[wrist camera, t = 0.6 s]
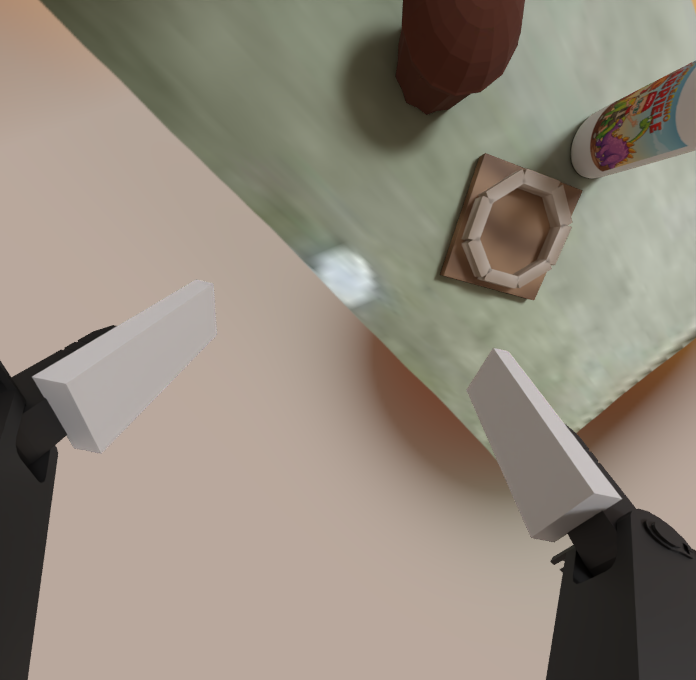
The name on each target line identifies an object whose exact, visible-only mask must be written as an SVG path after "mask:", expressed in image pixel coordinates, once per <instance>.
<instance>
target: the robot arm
mask: <svg viewBox="0 0 696 680" xmlns="http://www.w3.org/2000/svg"><path fill="white" fill-rule="evenodd" d="M216 335H217V329H216V313H215V299H214V285H213V283H209V282H205V281H201V280H194V281H193V282H191V283H189V284H188V285H186V286H184V287H183V288H181V289H179V290H177V291H176V292H174V293H172V294H171V295H169V296H167V297H166V298H164V299H162V300H161V301H159V302H157V303H156V304H154V305H152V306H151V307H149V308H147V309H146V310H144V311H142V312H140V313H139V314H137V315H135V316H134V317H132V318H130V319H129V320H127V321H125V322H123V323H122V324H120V325H119V326H114V325H112V326H109V327H106V328H103V329H100V330H96V331H93V332H92V333H90V334H88V335H86V336H85V337H83V338H81V339H79V340H78V342H74V343H72V344H70V345H69V346H67V347H65V349H64V350H60V351H58V352H56V353H54V354H53V355H51V356H49V357H47V358H46V359H44V360H42V361H40V362H38V363H36V364H35V365H33V366H31V367H29V368H28V369H26V370H24V371H22V372H20V373H19V374H17V375H15V376H13V377H11V376H10V375H9V373H8V372H7V370H6V369H5V367H4V366H3V364H2V363H1V361H0V680H28V672H29V665H30V657H31V650H32V643H33V635H34V627H35V620H36V613H37V606H38V598H39V591H40V583H41V576H42V569H43V561H44V554H45V546H46V539H47V532H48V524H49V517H50V509H51V501H52V495H53V488H54V480H55V473H56V465H57V458H58V452H57V447H56V446H55V445H56V444H57V443H58V442H59V441H60V440H62V439H63V438H64V437H65V436H66V435H67V437H68V439H69V441H70V442H71V444H72V446H73V447H74V448H75V449H81V450H86V451H91V452H96V453H102V452H103V451H104V450H105V449H106V448H107V447H108V446H109V445H110V444H111V443H112V442H113V441H114V440H115V439H116V438H117V437H118V436H119V435H120V434H121V433H122V432H123V431H124V430H125V429H126V428H127V426H129V425H130V424H131V422H133V420H134V419H135V418H136V417H137V416H138V415H139V414H140V413H141V412H142V411H143V410H144V409H145V408H146V407H147V406H148V405H149V404H150V403H151V402H152V401H153V400H154V399H155V398H156V397H157V396H158V395H159V394H160V393H161V392H162V391H163V389H164V388H166V387H167V386H168V385H169V384H170V382H171V381H172V380H173V379H174V378H175V377H176V376H177V375H178V374H179V373H180V372H181V371H182V370H183V369H184V368H185V367H186V366H187V365H188V364H189V363H190V362H191V361H192V360H193V359H194V358H195V357H196V356H197V355H198V354H199V353H200V352H201V351H202V350H203V349H204V348H205V346H206V345H207V344H208V343H209V342H210V341H211V340H212V339H213V338H214V337H215V336H216ZM467 392H468V394H469V397H470V399H471V401H472V404H473V406H474V408H475V410H476V413H477V415H478V417H479V420H480V422H481V424H482V427H483V429H484V431H485V433H486V436H487V438H488V440H489V443H490V445H491V447H492V450H493V452H494V454H495V456H496V459H497V461H498V463H499V466H500V468H501V470H502V472H503V475H504V477H505V479H506V482H507V484H508V486H509V488H510V491H511V493H512V495H513V497H514V500H515V502H516V504H517V507H518V509H519V511H520V514H521V516H522V518H523V521H524V523H525V525H526V528H527V530H528V532H529V534H530V537H531V538H534V539H540V540H545V541H550V542H555V541H557V540H559V539H560V538H561V537H563V536H565V535H566V534H568V535H569V537H570V539H571V541H572V543H573V544H574V545H572V546H571V547H569V548H568V549H566V550H564V551H562V552H561V553H559V554H557V555H556V556H554V557H553V558H552V560H551V563H552V564H554V565H555V564H557V563H559V562H560V561H565V563H564V567H563V568H561V569H560V570H561V571H562V572H563V576H562V583H561V588H560V595H559V601H558V608H557V613H556V621H555V626H554V633H553V639H552V645H551V652H550V658H549V664H548V670H547V676H546V680H696V551H695V550H693V549H691V547H690V546H689V545H688V543H687V542H686V541H685V540H684V538H682V537H681V536H680V535H679V534H678V533H677V532H676V531H675V530H674V529H673V528H672V527H671V526H669V525H668V524H667V523H666V522H664V521H663V520H661V519H660V518H659V517H657V516H655V515H653V514H651V513H650V512H648V511H644V510H641V509H636V508H635V507H634V505H633V504H632V503H631V502H630V500H629V499H628V498H627V497H626V495H624V493H623V491H622V490H621V489H620V488H619V486H618V485H617V484H616V483H615V481H614V480H613V479H612V477H611V476H610V475H609V474H608V472H607V471H606V470H605V469H604V467H603V466H602V465H601V464H600V463H598V460H597V458H596V457H595V456H594V455H593V453H592V452H589V448H588V447H587V446H586V445H585V443H584V442H583V441H582V439H581V438H580V437H579V436H578V435H577V434H576V433H575V432H574V431H573V430H572V429H570V428H569V427H568V426H567V425H566V424H565V423H563V421H562V420H561V419H560V417H559V416H558V415H557V414H556V412H555V411H554V410H553V408H552V407H551V406H550V404H549V403H548V402H547V401H546V399H545V398H544V397H543V395H542V394H541V393H540V391H539V390H538V389H537V388H536V386H535V385H534V384H533V382H532V381H531V380H530V378H529V377H528V376H527V375H526V373H525V372H524V371H523V369H522V368H521V367H520V365H519V364H518V363H517V362H516V360H515V359H514V358H513V356H512V355H511V354H510V352H509V351H505V350H500V349H496V348H493V349H492V351H491V352H490V354H489V355H488V357H487V358H486V360H485V362H484V363H483V365H482V366H481V368H480V369H479V371H478V373H477V374H476V376H475V377H474V379H473V381H472V382H471V384H470V385H469V387H468V388H467Z"/></svg>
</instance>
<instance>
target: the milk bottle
mask: <svg viewBox="0 0 696 680" xmlns="http://www.w3.org/2000/svg"><path fill="white" fill-rule="evenodd" d="M694 150H696V61H694V62H692V63H690V64H688V65H686V66H684V67H682V68H680V69H678V70H676V71H674V72H672V73H670V74H668V75H667V76H665V77H663V78H661V79H659V80H657V81H655V82H653V83H651V84H649V85H647V86H645V87H643V88H641V89H639V90H637V91H635V92H633V93H632V94H630V95H628V96H626V97H624V98H622V99H620V100H618V101H616V102H614V103H612V104H610V105H608V106H606V107H605V108H603V109H601V110H599V111H597V112H595V113H594V114H592V115H591V116H590V117H589V118H587V119H586V121H585V122H584V123H583V124H582V125H581V126H580V128H579V129H578V131H577V132H576V135H575V137H574V139H573V143H572V148H571V160H572V164H573V167H574V169H575V170H576V172H577V173H578V174H580V175H581V176H583V177H586V178H599V177H603V176H607V175H611V174H614V173H618V172H621V171H625V170H629V169H632V168H636V167H639V166H643V165H646V164H650V163H653V162H657V161H660V160H664V159H667V158H671V157H674V156H677V155H681V154H684V153H688V152H691V151H694Z"/></svg>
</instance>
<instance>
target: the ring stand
mask: <svg viewBox="0 0 696 680" xmlns="http://www.w3.org/2000/svg"><path fill="white" fill-rule="evenodd" d="M581 193H582V190H580V189H577V188H574V187H572V186H569V185H567V184H564V183H561V182H560V181H558V180H556V179H553V178H551V177H548V176H545V175H543V174H540V173H538V172H535V171H533V170H530V169H525V168H523V167H520V166H517V165H515V164H512V163H510V162H507V161H504V160H502V159H499V158H497V157H494V156H491V155H489V154H486V153H485V154H483V155H482V156H480V157H479V160H478V163H477V166H476V169H475V172H474V175H473V178H472V181H471V184H470V187H469V190H468V193H467V196H466V199H465V202H464V204H463V207H462V210H461V213H460V216H459V219H458V222H457V225H456V228H455V231H454V234H453V237H452V240H451V243H450V246H449V249H448V252H447V255H446V258H445V261H444V264H443V267H442V270H441V273H440V275H442V276H446V277H450V278H453V279H457V280H461V281H464V282H468V283H471V284H475V285H479V286H482V287H486V288H490V289H493V290H497V291H501V292H504V293H508V294H512V295H515V296H519V297H523V298H526V299H531V300H535V297H536V295H537V293H538V290H539V288H540V286H541V284H542V281H543V279H544V277H545V275H546V272H547V271H549V270H551V269H552V268H551V265H555V264H556V262H557V260H558V257H559V255H560V253H561V251H562V248H563V246H564V244H565V242H566V239H567V237H568V235H569V233H570V230H571V228H572V227H570V226H568V225H569V224H571V223H572V218H571V216H572V213H573V211H574V209H575V206H576V204H577V202H578V200H579V197H580V195H581Z"/></svg>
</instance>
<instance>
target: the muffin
mask: <svg viewBox="0 0 696 680" xmlns="http://www.w3.org/2000/svg"><path fill="white" fill-rule="evenodd" d="M524 4H525V0H403V11H402V30H401V35H400V40H399V45H398V64H397V70H396V76H395V77H396V79H397V81H398V83H399V85H400V87H401V88H402V91H403V94H404V97H405V100H406V103H408V104H410V105H412V106H414V107H417V108H418V109H419V110H421V111H422V112H423V113H425V114H426V115H428V114H430V113H433V112H436V111H441V110H449V109H450V108H451V107H453V106H454V105H456V104H457V103H458V102H460V101H461V100H463V99H464V98H465V97H467V96H468V95H470V94H471V93H478V92H481V91H482V90H484V89H485V88H486V87H487V86H489V85H490V84H491V83H492V82H494V81H495V80H496V79H497V78H499V77H500V76H501V75H502V74H503V72H504V70H505V68H506V67H507V65H508V63H509V61H510V59H511V57H512V55H513V53H514V51H515V49H516V47H517V46H518V40H519V36H520V33H521V26H522V19H523V11H524Z"/></svg>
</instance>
